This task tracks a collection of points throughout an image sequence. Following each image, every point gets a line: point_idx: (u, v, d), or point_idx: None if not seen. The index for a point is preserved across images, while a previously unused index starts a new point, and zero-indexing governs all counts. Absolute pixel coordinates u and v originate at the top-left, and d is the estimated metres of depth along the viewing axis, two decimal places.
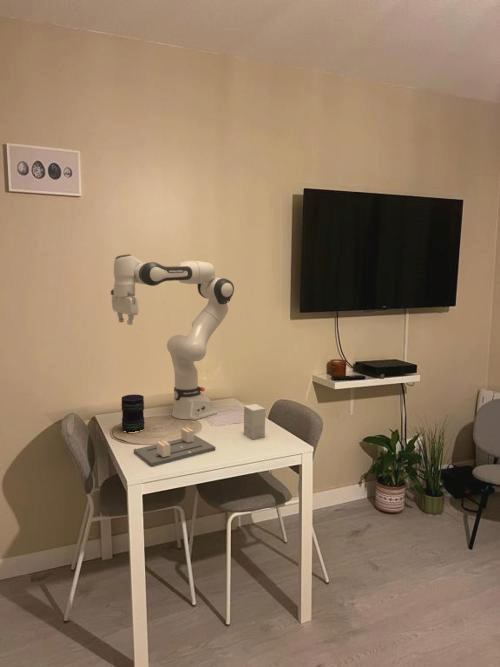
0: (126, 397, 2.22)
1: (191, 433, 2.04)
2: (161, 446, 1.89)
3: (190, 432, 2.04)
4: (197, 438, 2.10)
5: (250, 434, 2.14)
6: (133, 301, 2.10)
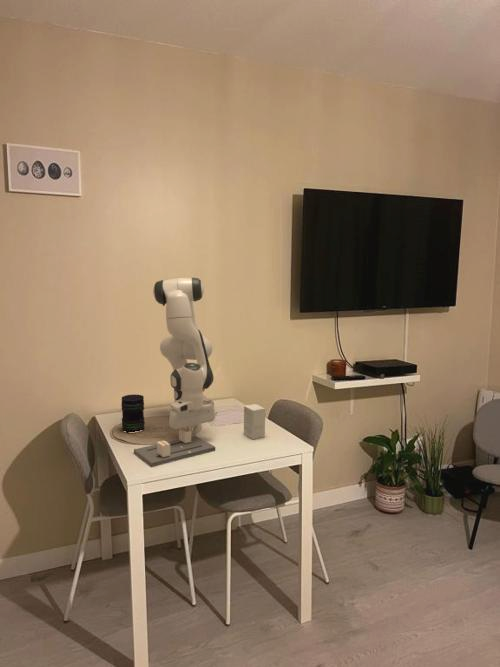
0: (126, 397, 2.22)
1: (189, 434, 2.04)
2: (161, 446, 1.89)
3: (187, 433, 2.03)
4: (197, 438, 2.10)
5: (250, 434, 2.14)
6: None
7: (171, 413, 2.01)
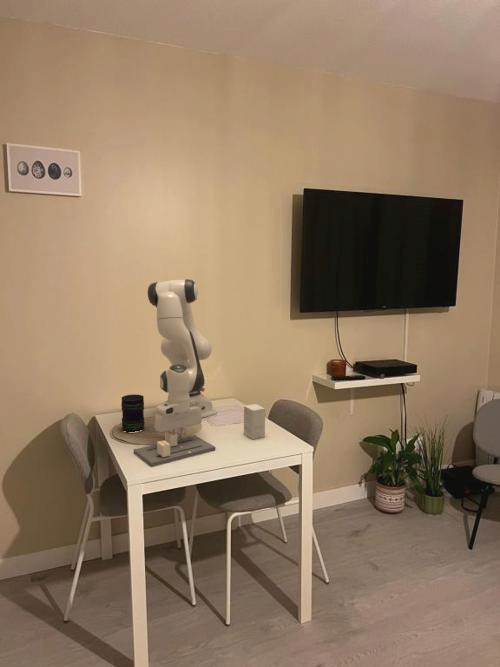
0: (126, 397, 2.22)
1: (175, 437, 2.00)
2: (161, 446, 1.89)
3: (173, 436, 2.00)
4: (197, 438, 2.10)
5: (250, 434, 2.14)
6: (200, 409, 2.08)
7: (156, 416, 1.97)
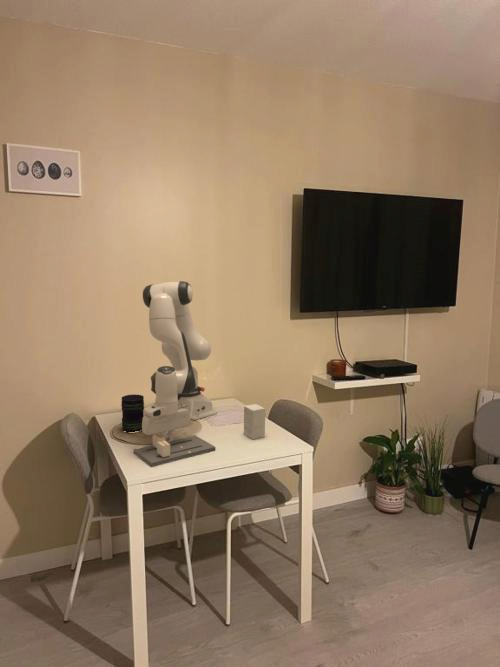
0: (126, 397, 2.22)
1: (162, 440, 1.97)
2: (161, 446, 1.89)
3: (161, 438, 1.96)
4: (197, 438, 2.10)
5: (250, 434, 2.14)
6: (188, 411, 2.05)
7: (144, 418, 1.94)
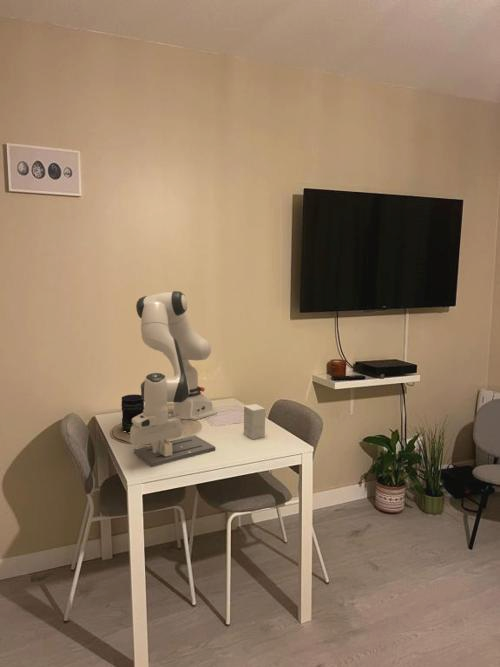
0: (126, 397, 2.22)
1: None
2: (163, 445, 1.90)
3: None
4: (197, 438, 2.10)
5: (250, 434, 2.14)
6: (180, 420, 1.94)
7: (132, 428, 1.83)
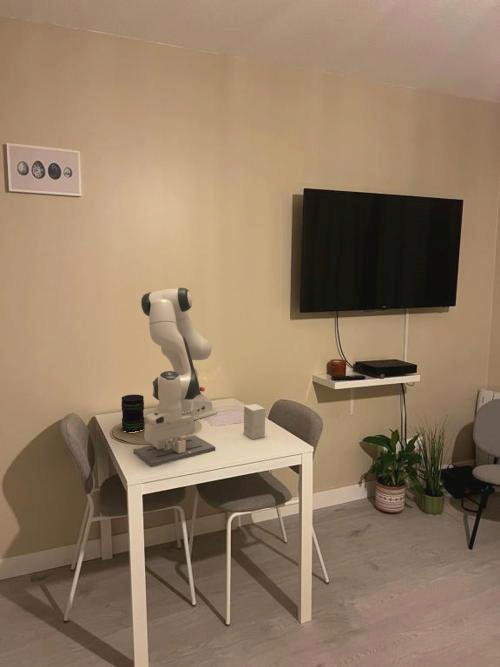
0: (126, 397, 2.22)
1: (162, 440, 1.97)
2: (177, 442, 1.93)
3: None
4: (197, 438, 2.10)
5: (250, 434, 2.14)
6: (193, 418, 1.97)
7: (146, 425, 1.87)
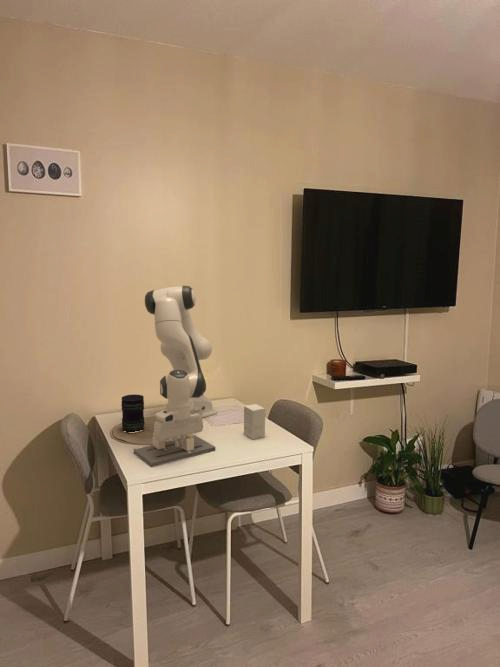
0: (126, 397, 2.22)
1: (162, 440, 1.97)
2: (185, 440, 1.95)
3: None
4: (197, 438, 2.10)
5: (250, 434, 2.14)
6: None
7: (156, 423, 1.89)
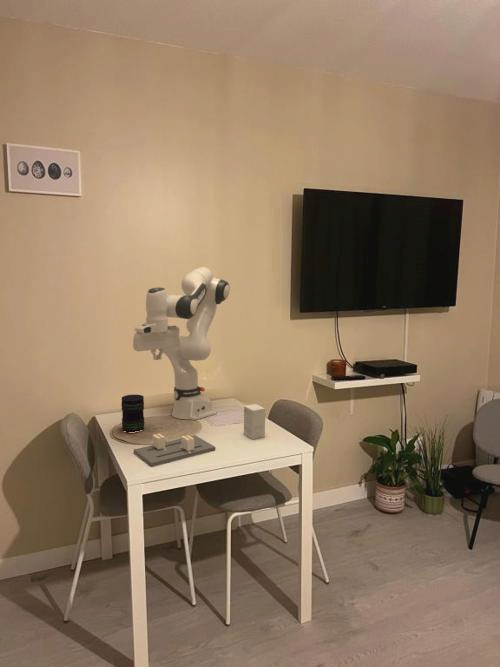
0: (126, 397, 2.22)
1: (162, 440, 1.97)
2: (185, 440, 1.95)
3: (161, 439, 1.96)
4: (197, 438, 2.10)
5: (250, 434, 2.14)
6: (178, 333, 2.14)
7: (135, 335, 2.03)
